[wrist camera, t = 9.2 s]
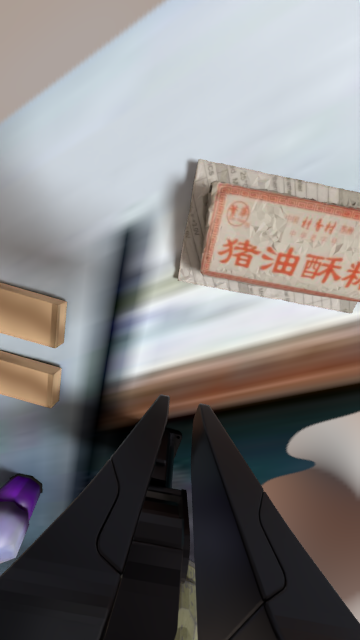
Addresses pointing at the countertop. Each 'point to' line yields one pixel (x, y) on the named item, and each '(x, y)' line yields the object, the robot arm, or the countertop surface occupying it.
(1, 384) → the inner oak plank
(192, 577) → the olive stone statue
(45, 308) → the outer oak plank
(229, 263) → the packaged product
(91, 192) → the countertop surface
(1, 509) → the potion bottle
